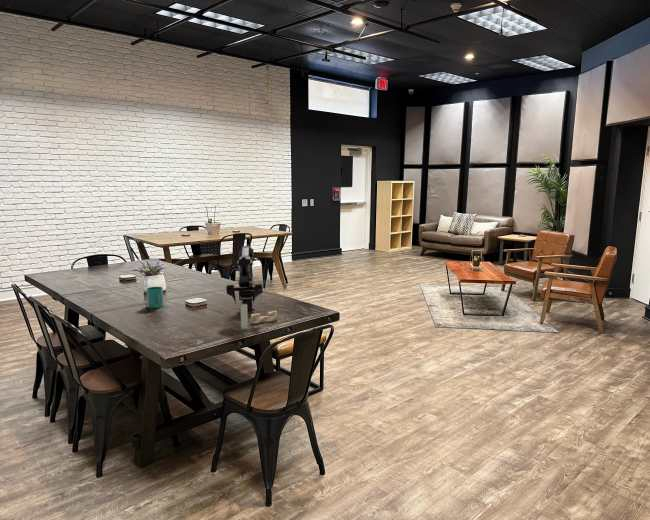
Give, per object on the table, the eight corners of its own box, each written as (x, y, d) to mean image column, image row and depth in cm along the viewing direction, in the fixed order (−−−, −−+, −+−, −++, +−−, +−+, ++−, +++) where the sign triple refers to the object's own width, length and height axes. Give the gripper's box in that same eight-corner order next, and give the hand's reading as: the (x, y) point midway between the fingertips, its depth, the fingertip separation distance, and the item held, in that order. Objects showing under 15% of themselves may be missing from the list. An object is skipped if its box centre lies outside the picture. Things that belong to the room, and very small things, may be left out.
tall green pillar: (241, 324, 249) (241, 304, 247) (247, 324, 249) (247, 304, 247) (241, 328, 242) (240, 307, 240) (247, 328, 242) (246, 307, 241)
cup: (151, 310, 278) (150, 291, 276) (146, 306, 287) (144, 287, 286) (167, 308, 283) (166, 289, 281) (161, 303, 292) (160, 285, 291)
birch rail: (252, 323, 251) (252, 315, 250) (251, 322, 252) (251, 314, 252) (277, 319, 257) (277, 311, 257) (275, 319, 259) (275, 310, 258)
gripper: (225, 269, 251) (224, 295, 242) (261, 268, 253) (262, 294, 244) (227, 281, 260) (226, 306, 251) (262, 280, 262) (262, 305, 253)
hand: (244, 302), depth 249 cm, fingers open, 9 cm apart
